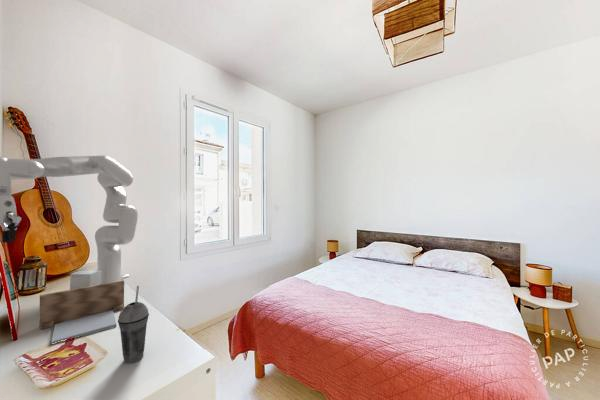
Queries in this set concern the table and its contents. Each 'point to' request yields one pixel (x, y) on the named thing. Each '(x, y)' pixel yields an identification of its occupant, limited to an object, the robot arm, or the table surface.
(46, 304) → the walnut screen
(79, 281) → the skincare box
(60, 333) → the mat
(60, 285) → the table surface
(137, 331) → the beverage cup
